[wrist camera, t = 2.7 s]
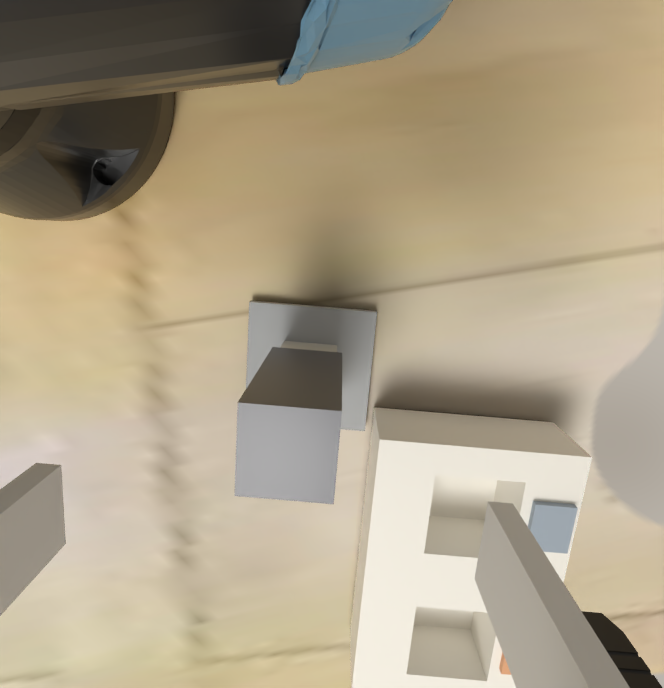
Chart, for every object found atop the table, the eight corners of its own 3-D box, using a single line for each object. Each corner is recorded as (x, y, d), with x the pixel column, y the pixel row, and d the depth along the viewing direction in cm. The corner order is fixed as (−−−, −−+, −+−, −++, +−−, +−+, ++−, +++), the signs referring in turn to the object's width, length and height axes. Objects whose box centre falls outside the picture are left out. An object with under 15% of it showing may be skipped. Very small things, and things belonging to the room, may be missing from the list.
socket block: (374, 407, 31) (380, 442, 26) (553, 422, 31) (595, 460, 26) (350, 629, 35) (351, 699, 30) (508, 643, 35) (536, 715, 30)
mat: (251, 300, 30) (249, 301, 29) (376, 310, 30) (377, 312, 29) (246, 417, 31) (244, 421, 31) (364, 427, 31) (364, 431, 31)
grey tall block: (279, 335, 29) (237, 402, 18) (342, 341, 29) (341, 411, 18) (276, 395, 30) (234, 495, 19) (337, 400, 30) (333, 504, 19)
